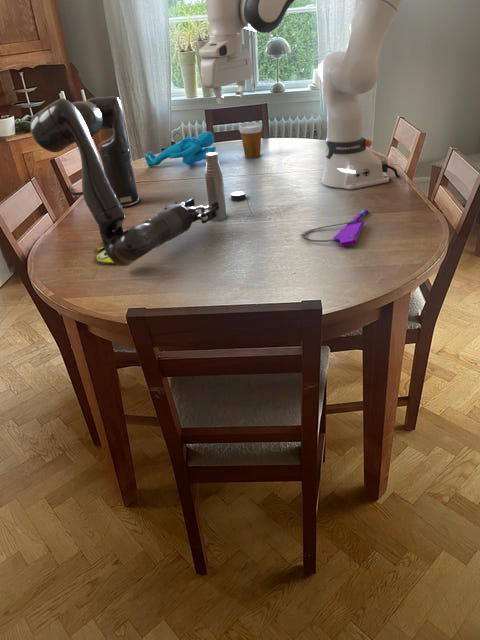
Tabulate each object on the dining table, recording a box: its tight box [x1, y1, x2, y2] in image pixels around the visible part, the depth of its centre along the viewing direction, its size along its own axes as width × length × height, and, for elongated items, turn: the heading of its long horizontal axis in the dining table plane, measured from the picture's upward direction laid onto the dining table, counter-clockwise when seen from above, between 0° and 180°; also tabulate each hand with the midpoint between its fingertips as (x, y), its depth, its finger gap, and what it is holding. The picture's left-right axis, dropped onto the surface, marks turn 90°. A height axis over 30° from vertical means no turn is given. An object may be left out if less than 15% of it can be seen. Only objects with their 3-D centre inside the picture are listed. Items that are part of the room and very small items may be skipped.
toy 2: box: [144, 131, 217, 168], centre depth 197 cm, size 17×11×30 cm
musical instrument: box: [301, 208, 369, 248], centre depth 130 cm, size 24×2×20 cm
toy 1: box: [95, 246, 116, 265], centre depth 129 cm, size 10×1×15 cm
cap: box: [230, 190, 246, 202], centre depth 158 cm, size 5×5×2 cm
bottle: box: [204, 151, 228, 222], centre depth 140 cm, size 5×5×19 cm
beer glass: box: [239, 123, 263, 159], centre depth 199 cm, size 10×10×12 cm
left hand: (205, 203), depth 138 cm, fingers open, 8 cm apart
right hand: (230, 100), depth 142 cm, fingers open, 8 cm apart
